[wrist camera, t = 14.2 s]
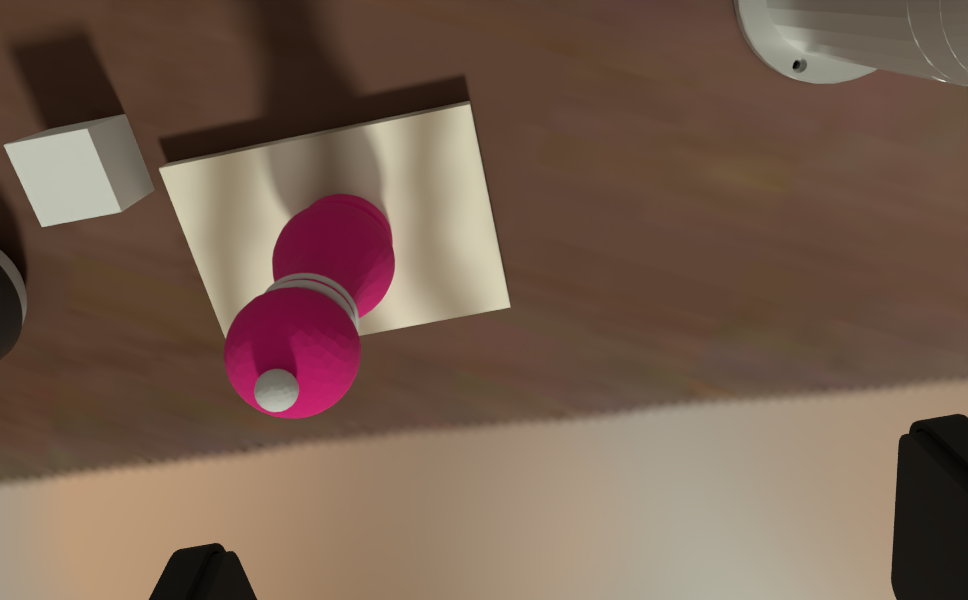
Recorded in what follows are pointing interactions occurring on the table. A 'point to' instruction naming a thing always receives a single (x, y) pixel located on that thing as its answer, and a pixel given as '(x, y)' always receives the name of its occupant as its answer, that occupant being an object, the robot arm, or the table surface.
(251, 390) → the pepper mill
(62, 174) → the grey block
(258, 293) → the ash board
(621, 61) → the table surface
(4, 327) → the dark grey egg shape
